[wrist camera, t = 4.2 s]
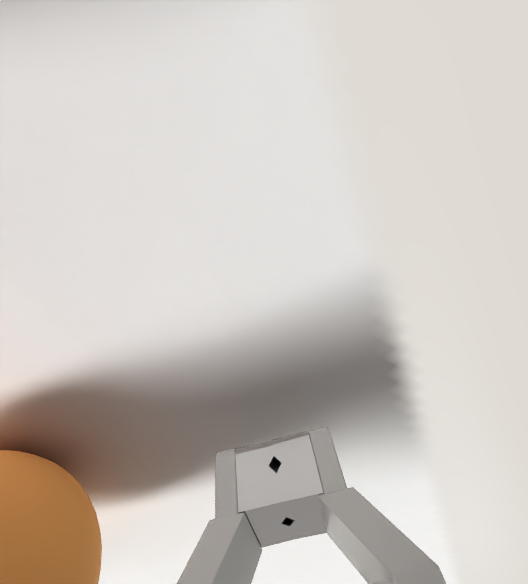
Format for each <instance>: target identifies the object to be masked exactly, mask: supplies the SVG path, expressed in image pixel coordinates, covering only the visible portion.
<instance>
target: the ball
mask: <svg viewBox="0 0 528 584" xmlns="http://www.w3.org/2000/svg"><path fill="white" fill-rule="evenodd" d="M101 551H102V545H101V534H100V528H99V523H98V519H97V515H96V512H95V510H94V507H93V505H92V503H91V501H90V498H89V496H88V495H87V493H86V492H85V490H84V489H83V487H82V486H81V485H80V483H79V482H78V481H77V480H76V479H75V478H74V477H73V476H72V475H71V474H70V473H69V472H67V471H66V470H65V469H64V468H62V467H61V466H59V465H58V464H56V463H54V462H52V461H50V460H48V459H45V458H43V457H40V456H37V455H34V454H30V453H26V452H20V451H11V450H0V584H98V581H99V575H100V569H101Z"/></svg>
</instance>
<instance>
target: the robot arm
mask: <svg viewBox="0 0 528 584" xmlns="http://www.w3.org/2000/svg"><path fill="white" fill-rule="evenodd" d="M309 436H310V437H309ZM323 533H327V534H328V535H329V537H330V538H331V539H332V540H333V541H334V543H335V544H336V545H337V546H338V547H339V549H340V550H341V551H342V552H343V554H344V555H345V556H346V557H347V558H348V560H349V561H350V562H351V563H352V564H353V566H354V567H355V568H356V569H357V570H358V572H359V573H360V574H361V575H362V576H363V578H364V579H365V580H366V581H367V582H368V584H446V582H445V580H444V578H443V575H442V573H441V571H440V569H439V566H438V565H437V564H436V563H435V562H433V561H432V560H431V559H430V558H429V557H428V556H427V555H426V554H425V553H424V552H423V551H422V550H420V549H419V548H418V547H417V546H416V545H415V544H414V543H413V542H412V541H411V540H410V539H409V538H407V537H406V536H405V535H404V534H403V533H402V532H401V531H400V530H399V529H398V528H397V527H396V526H395V525H393V524H392V523H391V522H390V521H389V520H388V519H387V518H386V517H385V516H384V515H383V514H382V513H380V512H379V511H378V510H377V509H376V508H375V507H374V506H373V505H372V504H371V503H370V502H369V501H367V500H366V499H365V498H364V497H363V496H362V495H361V494H360V493H359V492H358V491H357V490H356V489H354V488H353V487H351V488H347V486H346V483H345V480H344V477H343V473H342V470H341V467H340V464H339V461H338V457H337V454H336V451H335V448H334V444H333V441H332V438H331V435H330V432H329V429H328V428H327V427H323V428H320V429H316V430H312V431H309V433H308V431H305V432H301V433H297V434H293V435H289V436H285V437H281V438H278V439H274V440H272V441H267V442H263V443H258V444H254V445H249V446H245V447H240V448H235V449H230V450H226V451H222V452H218V453H217V455H216V459H215V519H213V520H210V521H209V523H208V525H207V527H206V529H205V530H204V532H203V534H202V536H201V538H200V540H199V542H198V544H197V546H196V548H195V550H194V552H193V554H192V555H191V557H190V559H189V561H188V563H187V565H186V567H185V569H184V571H183V573H182V575H181V577H180V579H179V580H178V582H177V584H251V582H252V579H253V576H254V573H255V570H256V567H257V564H258V561H259V558H260V555H261V552H262V549H261V548H262V547H266V546H270V545H274V544H278V543H281V542H285V541H289V540H293V539H298V538H303V537H308V536H313V535H318V534H323Z"/></svg>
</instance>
